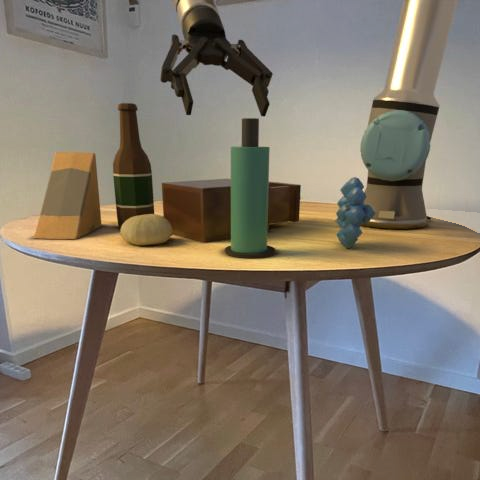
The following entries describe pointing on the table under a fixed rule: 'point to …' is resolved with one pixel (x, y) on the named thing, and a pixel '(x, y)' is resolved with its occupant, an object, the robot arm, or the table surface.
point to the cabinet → (200, 208)
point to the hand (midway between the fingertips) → (228, 109)
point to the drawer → (284, 202)
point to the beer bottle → (131, 170)
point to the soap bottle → (249, 191)
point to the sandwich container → (70, 198)
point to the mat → (268, 252)
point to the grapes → (352, 212)
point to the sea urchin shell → (146, 230)
